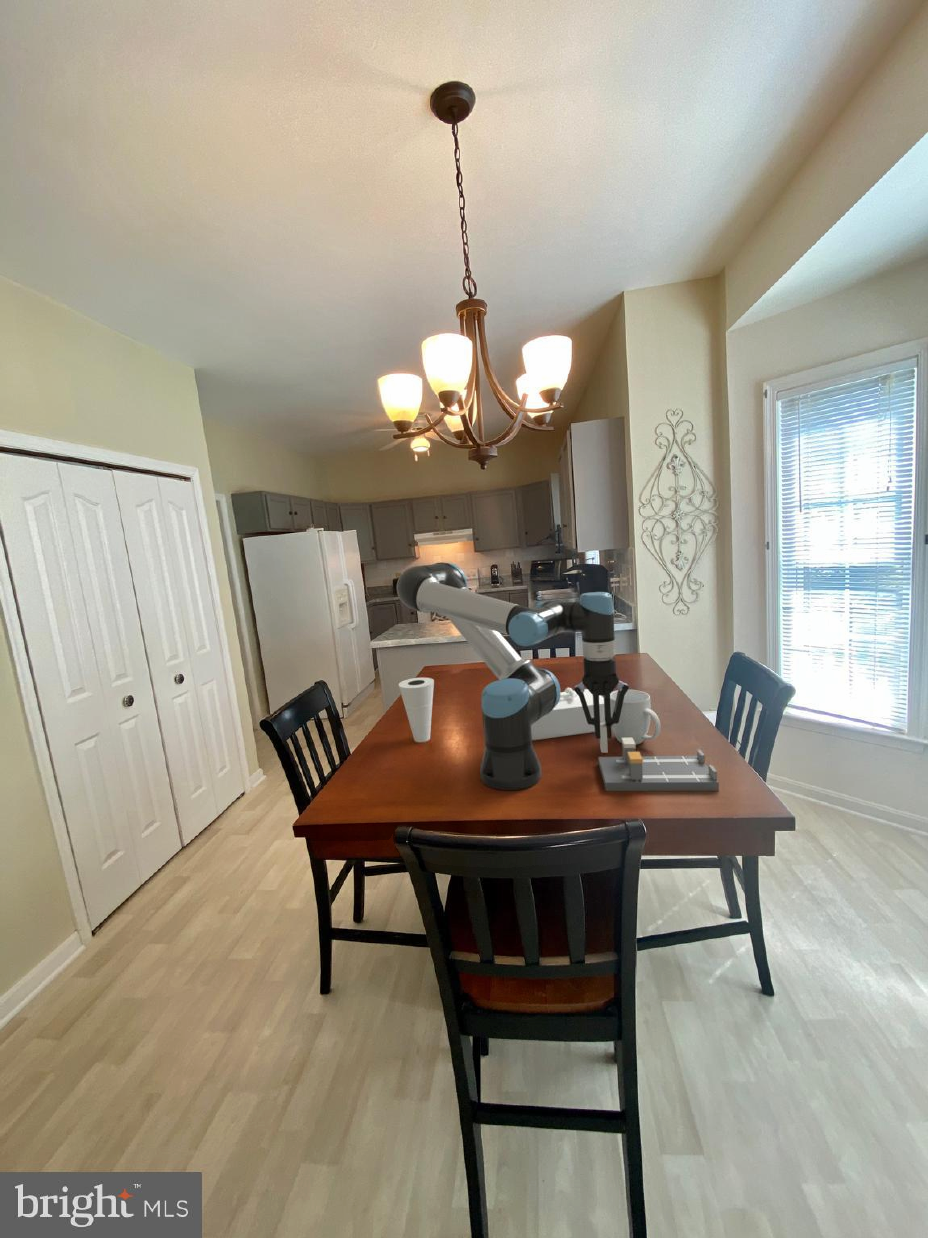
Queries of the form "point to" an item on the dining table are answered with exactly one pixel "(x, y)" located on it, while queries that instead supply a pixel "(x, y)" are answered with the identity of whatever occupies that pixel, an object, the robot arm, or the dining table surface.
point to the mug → (634, 717)
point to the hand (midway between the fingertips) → (603, 750)
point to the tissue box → (567, 717)
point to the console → (660, 774)
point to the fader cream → (627, 747)
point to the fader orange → (635, 765)
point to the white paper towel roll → (418, 705)
